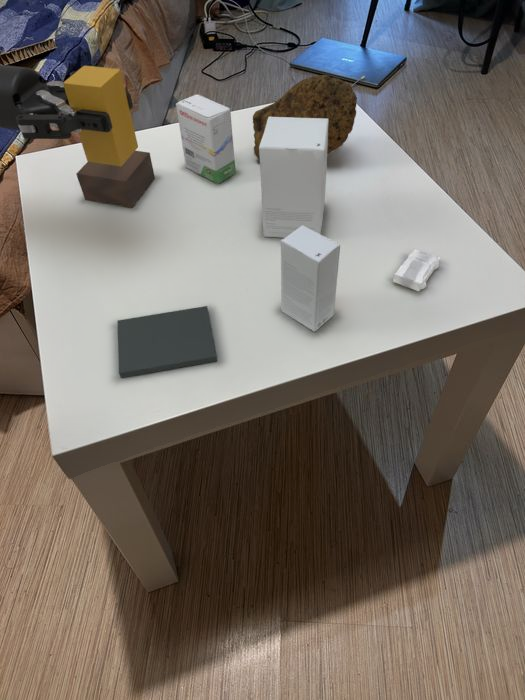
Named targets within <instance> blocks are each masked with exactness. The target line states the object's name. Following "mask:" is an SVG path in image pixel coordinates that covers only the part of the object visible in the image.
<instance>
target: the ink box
mask: <svg viewBox="0 0 525 700" xmlns="http://www.w3.org/2000/svg"><path fill="white" fill-rule="evenodd" d="M175 107H176V113H177V120H178V126H179V132H180V139H181V145H182V151H183V152H182V153H183V157H184V164H185V168H186V169H189V170H190V171H192V172H194V173H195V174H198V175H199V176H201V177H203V178H205V179H206V180H209V181H211V182H212V183H214V184H218V185H220V183H222V182H224V181H225V180H227V179H229V178H230V177H231V176H233V175H235V174H236V173H237V170H236V169H237V168H236V160H235V148H234V137H233V126H232V125H233V124H232V113H231V108H230V107H227V106H225V105H223V104H220V103H218V102H216V101H213V100H212V99H210V98H206V97H205V96H203V95H201V94H198V93H197V94H193V95H191V96H189V97H186V98H184V99H182V100H179V101H177V102H176V103H175Z"/></svg>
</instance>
